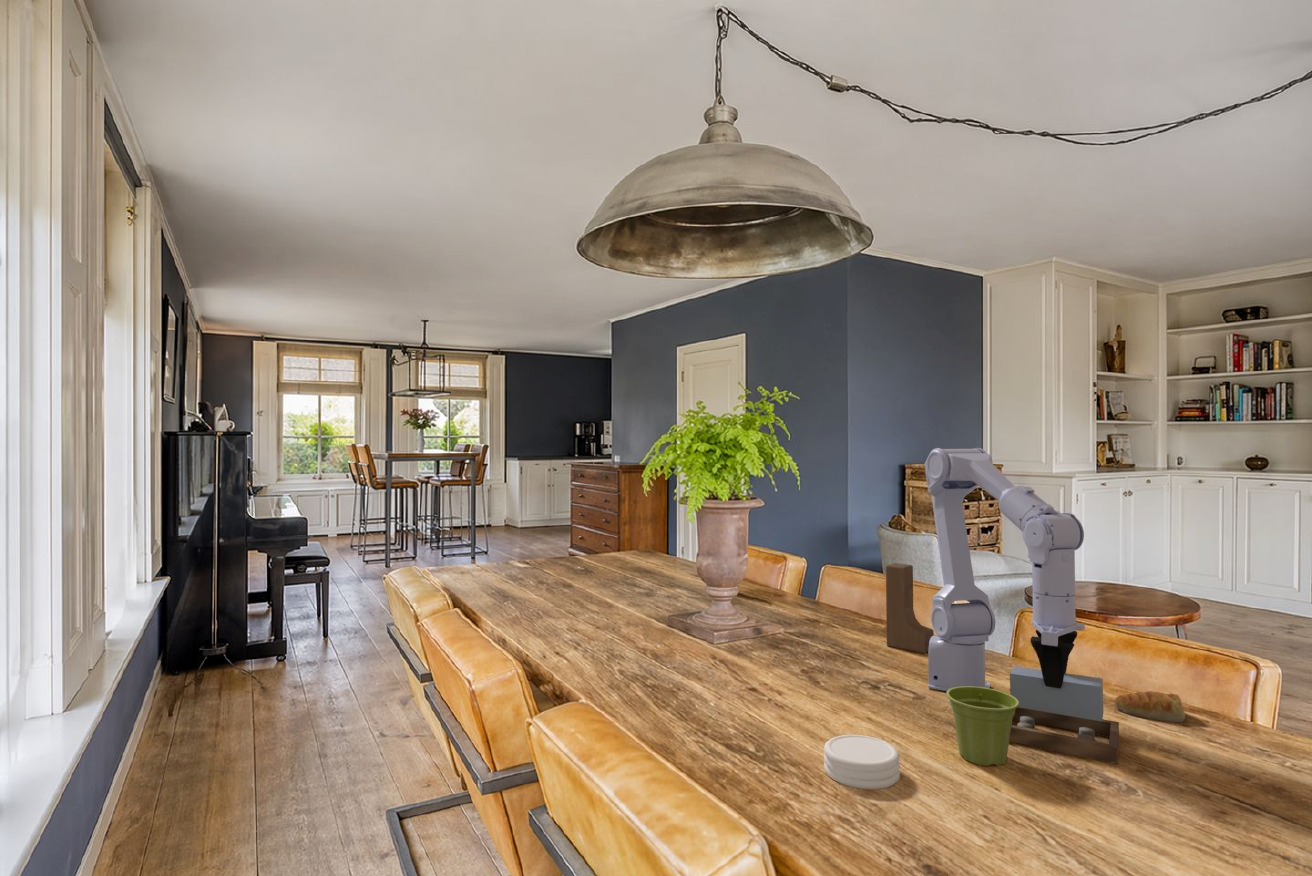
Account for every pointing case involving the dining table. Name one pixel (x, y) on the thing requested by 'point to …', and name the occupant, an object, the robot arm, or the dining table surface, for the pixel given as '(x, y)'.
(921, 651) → the wooden block
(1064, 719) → the peg frame
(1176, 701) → the pastry
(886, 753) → the coaster
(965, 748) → the plant pot
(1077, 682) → the blue-grey rectangular block
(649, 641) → the dining table surface
